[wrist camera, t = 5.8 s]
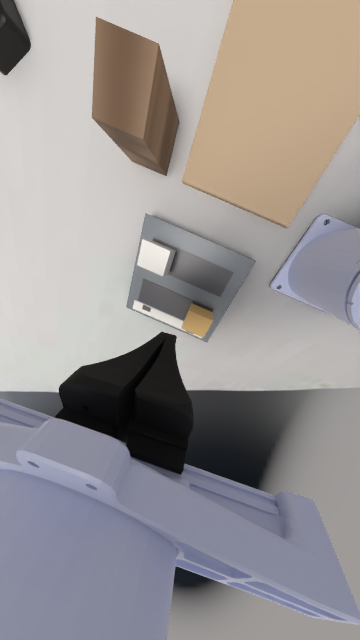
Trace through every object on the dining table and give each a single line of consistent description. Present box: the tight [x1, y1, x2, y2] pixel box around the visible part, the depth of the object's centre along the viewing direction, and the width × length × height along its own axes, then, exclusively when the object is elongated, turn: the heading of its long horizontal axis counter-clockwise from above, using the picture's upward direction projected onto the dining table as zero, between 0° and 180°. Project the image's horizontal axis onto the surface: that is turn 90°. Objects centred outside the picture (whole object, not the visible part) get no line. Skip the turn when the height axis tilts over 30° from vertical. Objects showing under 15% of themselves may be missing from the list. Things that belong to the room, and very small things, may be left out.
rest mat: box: [182, 0, 360, 228], centre depth 12 cm, size 12×14×1 cm
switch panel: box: [126, 214, 255, 342], centre depth 19 cm, size 13×12×2 cm
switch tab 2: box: [181, 303, 213, 338], centre depth 18 cm, size 3×3×2 cm
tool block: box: [92, 17, 179, 176], centre depth 12 cm, size 4×4×6 cm
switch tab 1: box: [137, 239, 176, 276], centre depth 16 cm, size 3×3×2 cm
